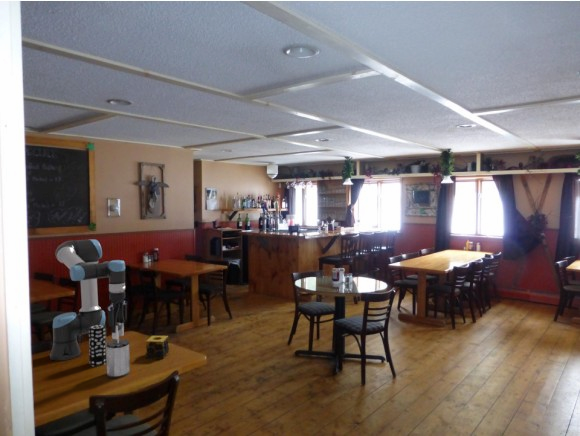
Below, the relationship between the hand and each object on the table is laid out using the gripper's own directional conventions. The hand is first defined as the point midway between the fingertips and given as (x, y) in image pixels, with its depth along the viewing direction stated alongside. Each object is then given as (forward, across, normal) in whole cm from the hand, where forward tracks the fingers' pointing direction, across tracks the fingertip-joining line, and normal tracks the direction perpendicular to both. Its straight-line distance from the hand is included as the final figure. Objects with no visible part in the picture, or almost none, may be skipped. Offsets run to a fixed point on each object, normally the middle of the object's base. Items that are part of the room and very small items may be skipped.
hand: (117, 337), depth 213 cm
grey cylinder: (+19, +1, 0) cm, 19 cm away
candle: (+19, +27, -6) cm, 34 cm away
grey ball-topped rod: (+17, 0, 0) cm, 17 cm away
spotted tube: (+19, +9, +19) cm, 28 cm away
